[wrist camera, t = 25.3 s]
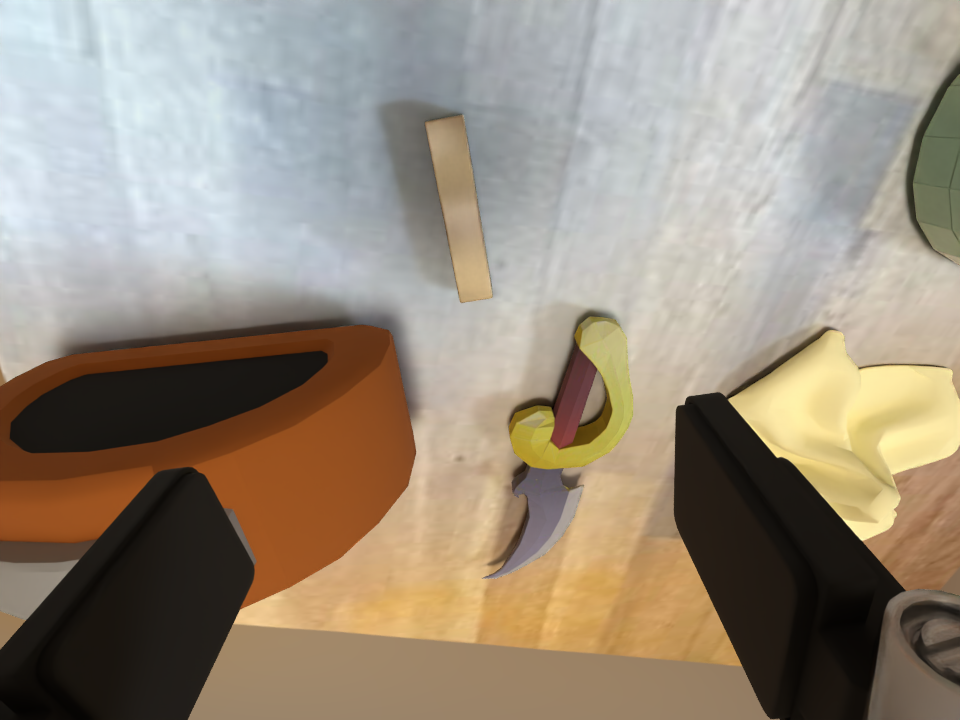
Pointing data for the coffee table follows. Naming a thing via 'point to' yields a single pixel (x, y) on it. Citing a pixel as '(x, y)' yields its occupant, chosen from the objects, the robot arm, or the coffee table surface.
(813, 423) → the cloth
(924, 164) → the bowl
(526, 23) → the coffee table surface
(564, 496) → the knife
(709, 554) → the robot arm
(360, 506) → the orange oval container
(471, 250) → the wooden block
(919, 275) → the coffee table surface
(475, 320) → the coffee table surface
